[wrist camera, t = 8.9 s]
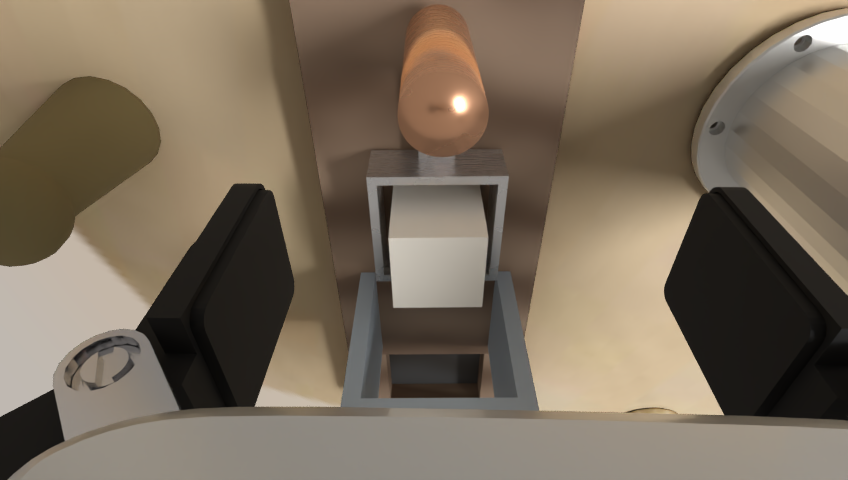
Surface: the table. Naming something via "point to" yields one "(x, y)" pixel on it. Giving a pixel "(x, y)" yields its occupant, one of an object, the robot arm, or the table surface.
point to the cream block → (437, 246)
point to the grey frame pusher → (439, 129)
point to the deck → (379, 130)
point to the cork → (69, 163)
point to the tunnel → (508, 387)
